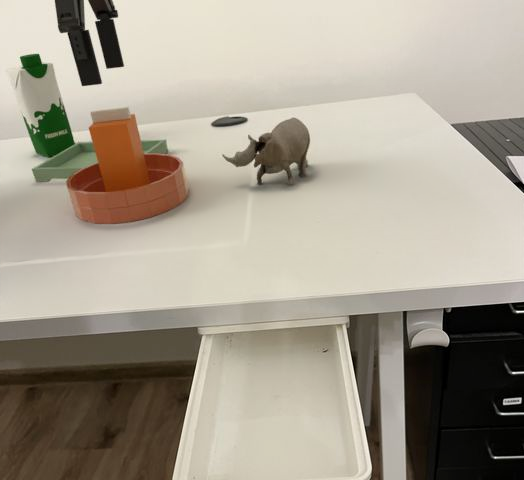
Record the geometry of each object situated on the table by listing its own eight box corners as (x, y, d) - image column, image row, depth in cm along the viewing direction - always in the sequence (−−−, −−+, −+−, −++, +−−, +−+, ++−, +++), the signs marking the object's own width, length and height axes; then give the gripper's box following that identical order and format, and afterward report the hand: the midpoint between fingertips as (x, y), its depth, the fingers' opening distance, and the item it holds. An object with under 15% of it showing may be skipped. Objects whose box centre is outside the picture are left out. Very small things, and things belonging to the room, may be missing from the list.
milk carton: (46, 159, 123) (13, 60, 111) (30, 153, 128) (-3, 58, 117) (82, 148, 127) (53, 51, 115) (64, 143, 133) (36, 50, 121)
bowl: (54, 226, 89) (42, 193, 86) (111, 183, 104) (103, 154, 101) (160, 228, 84) (152, 193, 81) (204, 183, 99) (199, 152, 95)
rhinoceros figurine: (341, 152, 96) (295, 87, 86) (300, 216, 95) (247, 159, 85) (312, 149, 102) (264, 88, 92) (272, 210, 101) (220, 155, 91)
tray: (35, 181, 110) (31, 169, 109) (81, 153, 124) (78, 142, 122) (130, 180, 104) (127, 167, 103) (168, 151, 118) (165, 139, 116)
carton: (111, 208, 91) (85, 116, 83) (119, 195, 96) (95, 107, 88) (146, 205, 91) (123, 112, 82) (152, 192, 96) (132, 103, 87)
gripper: (54, -124, 59) (108, 90, 71) (111, -106, 79) (145, 58, 92) (-12, -114, 60) (52, 96, 72) (61, -98, 80) (101, 64, 92)
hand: (104, 75), depth 82 cm, fingers open, 13 cm apart
